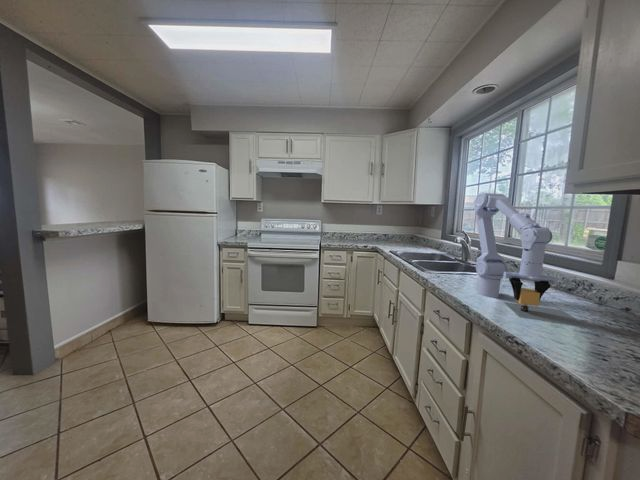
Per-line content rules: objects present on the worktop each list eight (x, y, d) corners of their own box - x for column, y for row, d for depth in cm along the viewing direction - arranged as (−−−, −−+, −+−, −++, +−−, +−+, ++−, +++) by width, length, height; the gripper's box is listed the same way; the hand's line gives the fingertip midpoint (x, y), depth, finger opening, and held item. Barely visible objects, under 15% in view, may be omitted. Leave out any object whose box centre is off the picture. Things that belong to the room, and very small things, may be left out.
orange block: (514, 299, 88) (516, 286, 88) (531, 301, 87) (533, 289, 86) (520, 303, 84) (522, 291, 83) (538, 306, 82) (540, 293, 81)
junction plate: (502, 304, 94) (502, 301, 94) (561, 313, 88) (562, 310, 88) (519, 320, 80) (519, 317, 80) (590, 332, 74) (591, 328, 74)
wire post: (519, 309, 87) (520, 301, 87) (526, 310, 86) (527, 302, 86) (522, 311, 85) (523, 303, 85) (529, 312, 84) (530, 304, 84)
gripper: (511, 262, 82) (505, 300, 84) (565, 267, 77) (558, 308, 79) (503, 258, 89) (498, 294, 90) (553, 263, 84) (547, 301, 86)
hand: (525, 300), depth 85 cm, fingers closed on orange block, 5 cm apart
